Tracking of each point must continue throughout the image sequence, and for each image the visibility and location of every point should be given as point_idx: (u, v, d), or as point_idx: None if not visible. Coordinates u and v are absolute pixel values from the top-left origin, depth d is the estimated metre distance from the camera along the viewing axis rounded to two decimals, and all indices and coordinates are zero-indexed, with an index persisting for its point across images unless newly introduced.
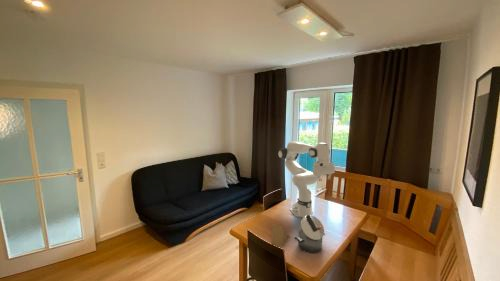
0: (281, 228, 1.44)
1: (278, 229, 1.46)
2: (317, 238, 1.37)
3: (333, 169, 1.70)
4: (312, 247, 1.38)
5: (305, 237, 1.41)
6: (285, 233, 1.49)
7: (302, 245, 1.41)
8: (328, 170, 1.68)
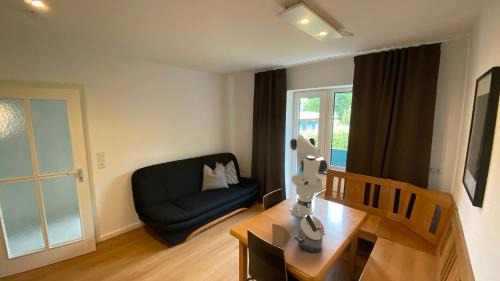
0: (282, 228, 1.44)
1: (279, 229, 1.46)
2: (317, 238, 1.37)
3: (320, 187, 1.45)
4: (312, 247, 1.38)
5: (305, 237, 1.41)
6: (286, 233, 1.50)
7: (302, 245, 1.41)
8: (314, 189, 1.43)
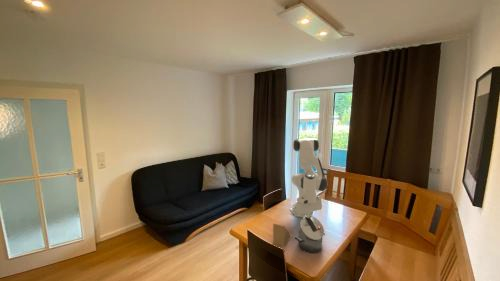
0: (283, 228, 1.45)
1: (280, 229, 1.46)
2: (317, 238, 1.37)
3: (320, 205, 1.46)
4: (312, 247, 1.38)
5: (305, 237, 1.41)
6: (287, 232, 1.50)
7: (302, 245, 1.41)
8: (314, 207, 1.44)
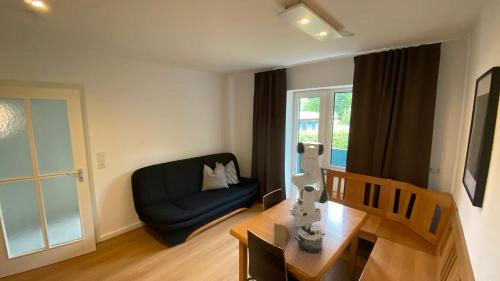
0: (284, 227, 1.45)
1: (281, 228, 1.46)
2: (316, 238, 1.38)
3: (319, 217, 1.48)
4: (312, 247, 1.38)
5: None
6: (287, 232, 1.51)
7: (302, 245, 1.41)
8: (313, 218, 1.45)
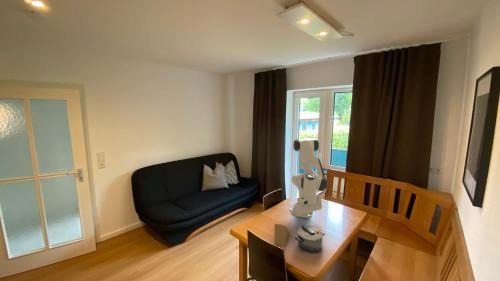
0: (285, 227, 1.45)
1: (281, 228, 1.47)
2: (316, 238, 1.38)
3: (320, 205, 1.47)
4: (312, 247, 1.38)
5: None
6: (288, 232, 1.51)
7: (302, 245, 1.41)
8: (314, 207, 1.44)
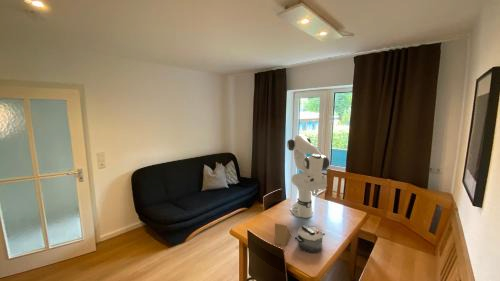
0: (285, 227, 1.46)
1: (282, 228, 1.47)
2: (316, 238, 1.38)
3: (325, 184, 1.53)
4: (312, 247, 1.38)
5: None
6: (288, 232, 1.51)
7: (302, 245, 1.41)
8: (319, 185, 1.51)
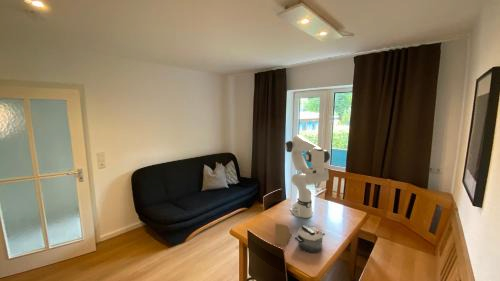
0: (286, 227, 1.46)
1: (282, 228, 1.47)
2: (316, 238, 1.38)
3: (327, 176, 1.58)
4: (312, 247, 1.38)
5: None
6: (288, 231, 1.51)
7: (302, 245, 1.41)
8: (321, 177, 1.56)
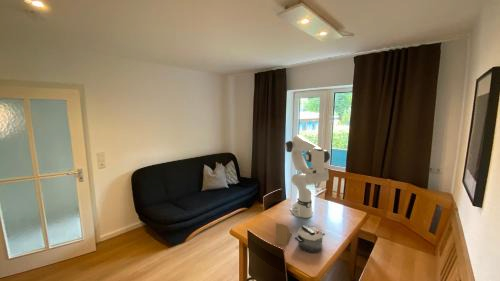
0: (286, 227, 1.46)
1: (283, 228, 1.47)
2: (316, 238, 1.38)
3: (327, 176, 1.58)
4: (312, 247, 1.38)
5: None
6: (289, 231, 1.51)
7: (302, 245, 1.41)
8: (321, 177, 1.56)
